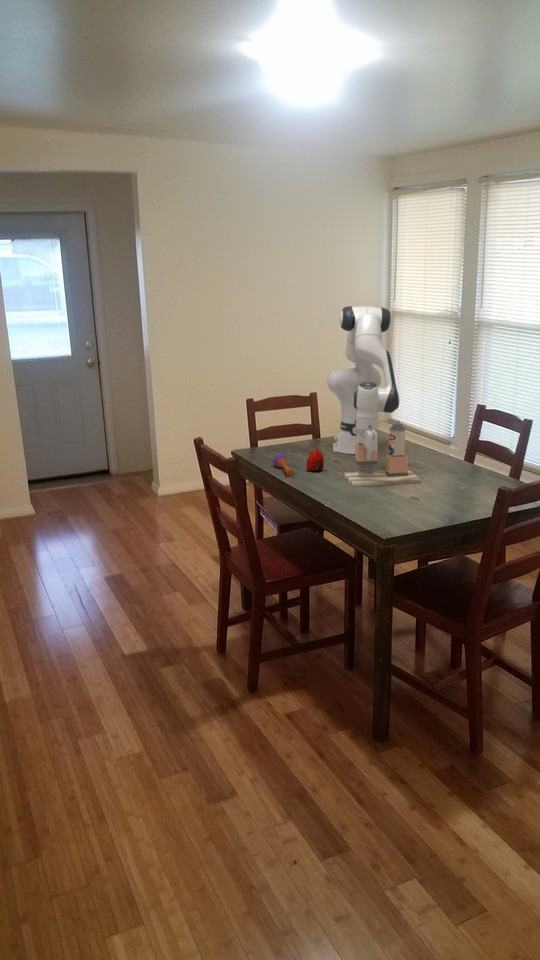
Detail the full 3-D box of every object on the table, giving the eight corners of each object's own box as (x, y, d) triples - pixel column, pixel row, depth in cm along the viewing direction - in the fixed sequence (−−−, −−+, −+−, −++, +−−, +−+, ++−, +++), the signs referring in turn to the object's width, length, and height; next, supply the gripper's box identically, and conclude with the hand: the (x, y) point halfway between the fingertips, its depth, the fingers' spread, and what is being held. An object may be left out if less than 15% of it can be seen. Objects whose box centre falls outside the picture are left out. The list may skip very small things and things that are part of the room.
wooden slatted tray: (343, 475, 309) (343, 461, 308) (408, 472, 313) (408, 458, 311) (352, 486, 294) (352, 471, 292) (420, 482, 297) (421, 468, 296)
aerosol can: (385, 464, 325) (386, 420, 320) (399, 463, 327) (401, 419, 321) (392, 468, 319) (394, 423, 313) (406, 467, 321) (408, 421, 315)
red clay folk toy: (319, 467, 322) (319, 434, 318) (327, 471, 316) (327, 437, 312) (303, 469, 319) (303, 436, 315) (311, 473, 313) (311, 439, 309)
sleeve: (374, 461, 303) (374, 442, 301) (377, 464, 299) (377, 445, 297) (355, 462, 302) (355, 443, 300) (358, 465, 298) (358, 446, 296)
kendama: (282, 468, 307) (270, 453, 325) (284, 481, 309) (272, 466, 327) (295, 465, 308) (283, 450, 326) (298, 478, 310) (285, 462, 328)
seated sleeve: (388, 476, 301) (389, 457, 299) (385, 473, 305) (386, 455, 303) (407, 475, 302) (408, 457, 300) (404, 472, 306) (405, 454, 304)
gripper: (382, 428, 287) (381, 463, 290) (368, 418, 306) (367, 450, 310) (366, 429, 286) (365, 463, 290) (353, 418, 305) (352, 451, 309)
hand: (366, 457), depth 300 cm, fingers closed on sleeve, 5 cm apart
